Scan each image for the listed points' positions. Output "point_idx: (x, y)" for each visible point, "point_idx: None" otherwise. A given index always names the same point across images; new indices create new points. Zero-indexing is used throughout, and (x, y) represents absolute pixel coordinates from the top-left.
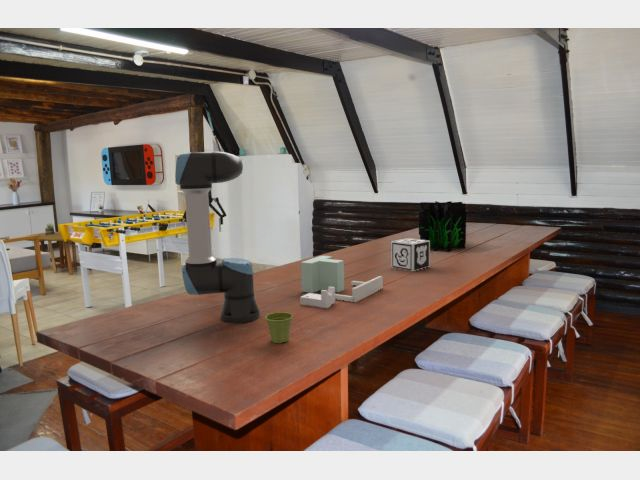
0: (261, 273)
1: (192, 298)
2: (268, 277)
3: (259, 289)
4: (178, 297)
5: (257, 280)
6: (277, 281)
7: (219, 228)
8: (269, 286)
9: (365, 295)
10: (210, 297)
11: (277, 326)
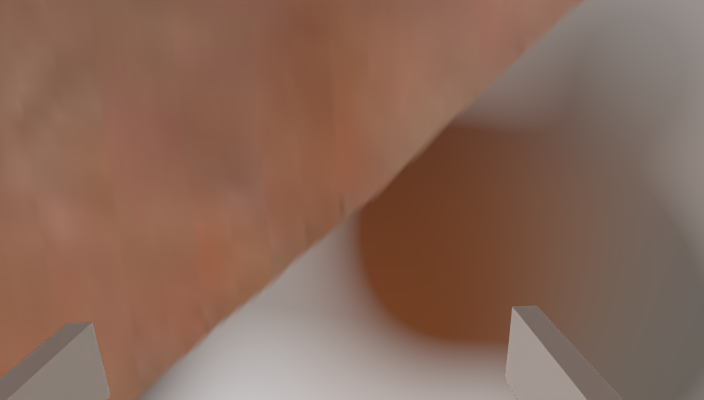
0: (116, 392)
1: (402, 11)
2: (72, 316)
3: (84, 101)
4: (469, 51)
5: (118, 275)
6: (15, 234)
7: (47, 358)
8: (40, 147)
9: None
10: (315, 6)
11: None
